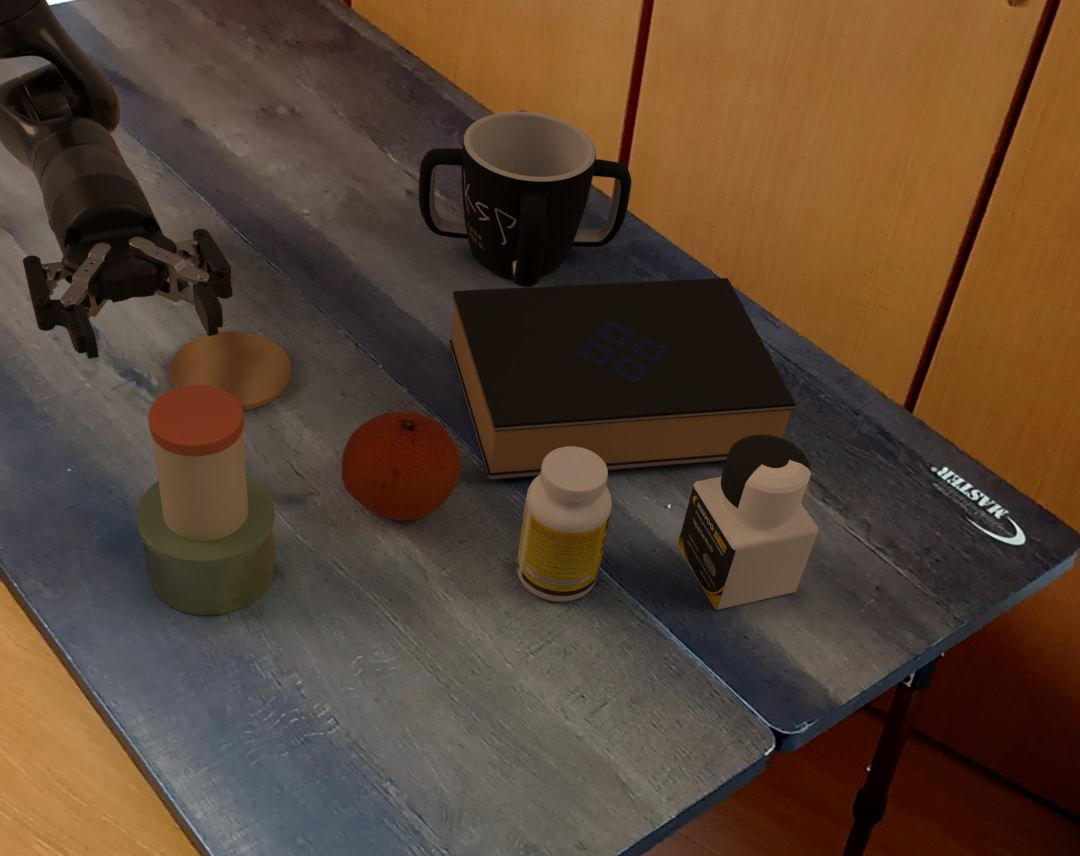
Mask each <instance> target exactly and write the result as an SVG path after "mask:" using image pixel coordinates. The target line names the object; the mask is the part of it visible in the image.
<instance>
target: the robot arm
mask: <svg viewBox="0 0 1080 856" xmlns="http://www.w3.org/2000/svg"><path fill="white" fill-rule="evenodd" d="M26 57H38V58H41V59H44V60H46V61H47V62H49V63H47V64H45V65H43V66H40V67H38V68H35V69H32V70H31V71H28V72H25V73H23V74H21V75H20V76H16V77H14V78H11V79H9V80H7V81H4V82H2V83H0V143H1V144H2V146H3V147H4V148H5V149H6V150H7V151H8V152H9V153H10V154H11V156H13V157H14V159H16V160H17V161H18V162H19V163H20V164H21V165H23V166H24V167H25V168H27V170H29V171H30V172H32V173H33V175H34V176H35V180H36V181H37V184H38V186H39V189H40V191H41V194H42V199H43V206H44V210H45V213H46V216H47V218H48V219H47V220H48V226H49V227H50V229H51V231H52V232H53V234H54V236H55V239H56V241H57V244H58V247H59V249H60V251H61V254H62V258H61V261H56V262H48V263H42V261H41V258H40V257H39V256H37V255H27V256H25V257H23V259H22V264H23V268H24V273H25V279H26V282H27V283H26V284H27V288H28V292H29V296H30V300H31V304H32V308H33V313H34V317H35V321H36V324H37V325H36V326H37V328H38V330H40V331H42V332H43V331H44V332H48V331H52V330H53V329H55V327H57V326H58V327H63V328H65V330H66V331H67V333H68V335H69V338H70V341H71V344H72V346H73V349H74V351H75V352H77V353H78V354H86V357H87V359H88V360H92V359H95V358H99V349H98V345H97V338H96V334H95V330H94V329H93V326H92V323H91V321H90V318H91V317H92V318H96V317H97V316H98V315H99V313H100V312H101V310H102V309H103V307H104V306H105V305H106V303H107V302H108V301H111V302H112V303H113V304H114V303H120V302H124V301H127V300H129V299H132V298H148V297H153V296H155V294H156V295H158V296H159V297H163V298H165V299H167V300H170V301H172V302H174V303H179V302H180V301H184V302H186V303H188V304H190V305H193V306H194V310H195V312H196V314H197V317H198V318H199V321H200V322H201V325H202V327H203V329H204V331H205V333H206V335H208V336H213V335H218V332H219V328H223V326H224V314H223V306H222V304H221V302H220V300H219V298H220V299H225V300H227V299H230V298H231V297H233V294H234V293H233V287H232V266H231V265H230V263H229V261H228V260H227V258H226V257H225V255H224V254H223V252H222V251H221V249H220V247H219V246H218V244H217V242H216V241H215V240H214V238H213V237H212V235H211V234H210V232H209V230H208V229H206V228H197V229H194V230H193V231H192V239H188V240H183V241H177V242H175V241H174V240H173V239H171V238H169V237H167V236H166V235H164V233H163V231H162V228H161V226H160V224H159V222H158V219H157V218H156V215H155V214H154V211H153V209H152V207H151V205H150V203H149V201H148V198H147V197H146V195H145V193H144V191H143V189H142V186H141V185H140V183H139V181H138V179H137V177H136V176H135V174H134V172H133V171H132V170H131V168H129V167H128V164H127V163H126V161H125V159H124V157H123V153H121V150H120V148H119V146H118V144H117V142H116V141H115V138H114V137H113V135H112V134H113V133H114V132H115V130H116V129H117V128H118V125H119V123H120V119H121V104H120V100H119V97H118V94H117V92H116V90H115V88H114V86H113V85H112V83H111V82H110V80H109V79H108V77H107V76H106V75H105V73H104V72H103V71H102V70H101V69H100V68H99V67H98V66H97V65H96V64H95V62H94V61H93V60H92V59H91V58H90V57H89V56H88V55H87V54H86V53H85V51H83V49H82V48H81V47H80V46H79V45H78V43H76V41H75V40H74V39H73V38H72V36H71V35H70V34H69V33H68V32H67V30H66V29H65V28H64V27H63V25H62V24H61V22H60V21H59V19H58V17H57V16H56V14H55V13H54V11H53V10H52V8H51V6H50V5H49V2H48V1H47V0H0V60H8V59H9V60H10V59H15V58H26ZM187 262H188V263H187ZM189 264H190V265H189ZM192 265H193V266H192ZM62 280H65V282H66V283H68V284H69V287H68V288H67V289H66V290H65V292H64V294H63V295H61V297H60V298H59V299H51V296H53V295H54V294H55V292H54V290H55V289H56V288H57V287H58V283H59V282H60V281H62ZM189 283H190V284H192V286H191V285H190V284H189Z"/></svg>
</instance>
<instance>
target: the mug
mask: <svg viewBox="0 0 1080 856" xmlns="http://www.w3.org/2000/svg"><path fill="white" fill-rule="evenodd" d="M419 165H420V166H419V177H418V204H419V210H420V214H421V217H422V219H423V221H424V223H425V225H426V226H427V228H428V229H429V230H430V232H432V233H433V234H435V235H438V236H440V237H446V238H455V239H462V240H463V239H464V240H467V241H468V244H469V245H468V246H469V248H470V251H471V253H472V255H473V257H474V258H475V260H476V261H477V262H478V263H479V264H480V265H481V266H482V267H484V268H486V269H487V270H490V271H491V272H492V273H495V274H498V275H501V276H505V277H509V278H512V282H513V283H514V284H515V285H516V286H519V287H521V288H526V287H535V286H536V285H537V284H538V283H539V280H540V277H543V276H547V275H549V274H551V273H553V272H554V271H556V270H557V269H559V267H561V266H562V264H563V263H564V262H565V260H566V258H567V256H568V255H569V253H570V251H571V248H572V247H577V248H579V247H580V248H598V247H603V246H605V245H607V244H609V243H610V242H611V241H612V240H613V239H614V238H615V237H616V236H617V234H618V233H619V231H621V228H622V226H623V224H624V221H625V219H626V216H627V210H628V207H629V201H630V195H631V190H632V189H631V188H632V183H633V182H632V176H631V173H630V170H629V169H628V167H627V166H626V165H625V164H624V163H622V162H619V161H613V160H606V159H601V158H600V159H599V158H597V149H596V146H595V144H594V141H593V140H592V139H591V138H590V136H589V135H588V134H587V133H586V132H584V131H583V130H582V129H581V128H579V127H578V126H576V125H574V124H573V123H571V122H568V121H566V120H564V119H562V118H559V117H556V116H554V115H550V114H546V113H540V112H534V111H527V110H515V111H514V110H513V111H501V112H498V113H492V114H489V115H485V116H484V117H481V118H480V119H478V120H476V121H474V122H473V123H471V125H469V126H468V128H467V129H466V131H465V132H464V134H463V141H462V148H459V147H458V148H456V147H450V148H449V147H445V148H444V147H443V148H442V147H441V148H432V149H429V150H428V151H426V153H425V155H424V156H423V157H422V159H421V162H420V164H419ZM438 166H454V167H456V166H457V167H458V166H459V167H461V194H462V195H461V196H462V205H463V216H464V220H458V219H450V218H443V217H441V216H440V214H439V213H438V211H437V209H436V202H435V191H436V188H435V186H436V174H437V168H438ZM594 177H600V178H612V179H614V180H615V181H614V192H613V197H612V201H611V206H610V210H609V214H608V217H607V218H606V220H605V222H604V223H603V224H602V226H600V227H598V228H594V229H592V228H591V229H587V228H580V225H581V222H582V220H583V219H582V218H583V215H584V213H585V209H586V207H587V203H588V199H589V194H590V191H591V187H592V183H593V178H594Z"/></svg>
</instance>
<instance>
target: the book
mask: <svg viewBox="0 0 1080 856" xmlns="http://www.w3.org/2000/svg"><path fill="white" fill-rule="evenodd" d="M452 294H453V295H452V299H453V302H454V304H453V317H452V330H451V339H449V343H448V346H449V349H450V353H451V356H452V360H453V364H454V366H455V370H456V372H457V377H458V381H459V384H460V387H461V391H462V393H463V397H464V401H465V404H466V408H467V412H468V415H469V418H470V422H471V425H472V428H473V431H474V432H473V433H474V436H475V439H476V443H477V445H478V450H479V452H480V456H481V459H482V463H483V466H484V470H485V473H486V477H487V480H488V481H495V480H497V481H499V480H509V479H520V478H522V479H523V478H533V477H537V476H539V475H540V474H541V468H542V463H543V460H544V458H545V457H546V456H547V455H548V454H549V453H550V452H551V451H553V450H555V449H558V448H561V447H568V446H573V447H581V448H585V449H588V450H590V451H592V452H594V453H595V454H597V455H598V456H599V457H600V458H601V459H602V460H603V461H604V462H605V464H606V466H607V469H608V471H618V470H629V469H630V470H631V469H642V468H653V467H654V468H655V467H666V466H667V467H668V466H678V465H679V466H680V465H691V464H692V465H693V464H702V463H714V462H715V463H717V462H726V459H727V456H728V453H729V450H730V448H731V447H732V446H733V444H734V443H736V442H737V441H739V440H741V439H743V438H745V437H748V436H752V435H772V436H776V437H780V438H782V439H784V438H783V437H784V435H785V431H786V428H787V425H788V422H789V419H790V417H791V413H792V411H794V410H795V407H796V406H797V404H796V401H795V399H794V398H793V396H792V394H791V391H790V390H789V388H788V387H787V385H786V383H785V381H784V379H783V377H782V375H781V373H780V372H779V370H778V368H777V366H776V364H775V362H774V361H773V359H772V357H771V355H770V353H769V351H768V350H767V348H766V346H765V343H764V342H763V340H762V338H761V337H760V335H759V333H758V331H757V329H756V327H755V325H754V324H753V322H752V320H751V318H750V316H749V315H748V312H747V311H746V309H745V307H744V305H743V303H742V302H741V299H740V298H739V296H738V294H737V292H736V290H735V289H734V287H733V285H732V283H731V281H730V279H729V278H728V277H718V278H717V277H715V278H697V279H695V278H694V279H676V280H675V279H674V280H657V281H654V280H653V281H636V282H635V281H634V282H612V283H610V282H609V283H593V284H571V285H569V284H568V285H551V286H550V285H549V286H547V285H546V286H531V287H509V288H487V289H486V288H485V289H467V290H465V289H463V290H453V292H452Z"/></svg>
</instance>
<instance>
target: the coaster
mask: <svg viewBox="0 0 1080 856" xmlns="http://www.w3.org/2000/svg"><path fill="white" fill-rule="evenodd" d="M169 377H170V382H171V384H172V386H173V389H175V388H178V387H182V386H187V385H209V386H214V387H217V388H221V389H223V390H225V391H227V392H229V393H230V394H232V395H233V396H234V397H235V398H236V399H237V400H238V401H239V402H240V404H241V406H242V409H243V412H245V411H249V410H254V409H257V408H260V407H263V406H265V405H268V404H269V403H271V402H273V401H274V400H276V399H277V398H279V397H280V396H281V395H282V394H283V393H285V391H286V389H287V388H288V387H289V384H290V382H291V379H292V363H291V360H290V357H289V356H288V353H287V352H286V351H285V350H284V349H283V347H282V346H280V345H279V344H278V343H276V342H274V341H273V340H272V339H270V338H268V337H265V336H262V335H259V334H257V333H252V332H249V331H239V330H238V331H237V330H227V331H218V335H213V336H208V335H207V334H203V335H201V336H199V337H195V338H194V339H192V340H190V341H188V342H187V343H185V344H184V345H182V347H180V348H179V349H178V350H177V351H176V353H175V354H174V356H173V357H172V359H171V362H170V365H169Z"/></svg>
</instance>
